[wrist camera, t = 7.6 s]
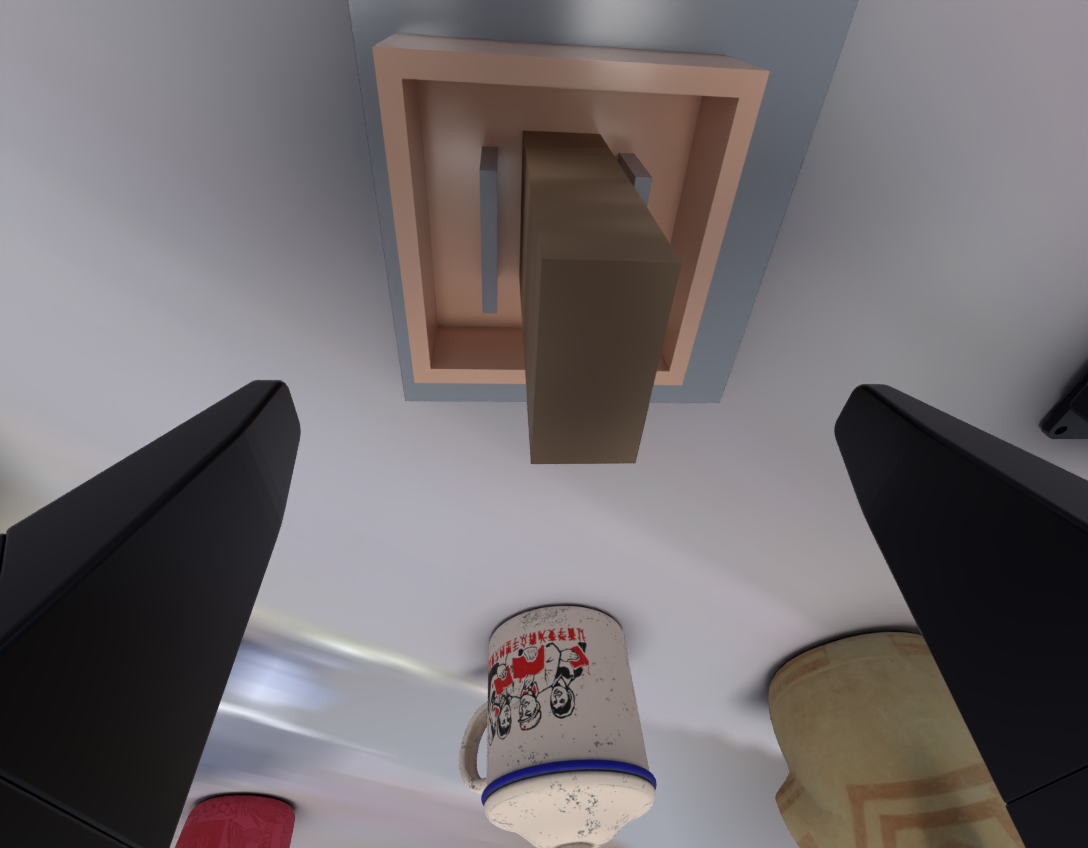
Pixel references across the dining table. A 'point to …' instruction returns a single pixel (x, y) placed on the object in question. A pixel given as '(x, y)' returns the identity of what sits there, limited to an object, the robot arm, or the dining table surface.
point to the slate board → (653, 24)
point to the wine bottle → (238, 823)
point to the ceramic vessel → (880, 751)
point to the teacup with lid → (559, 731)
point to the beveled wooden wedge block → (588, 300)
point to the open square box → (496, 175)
